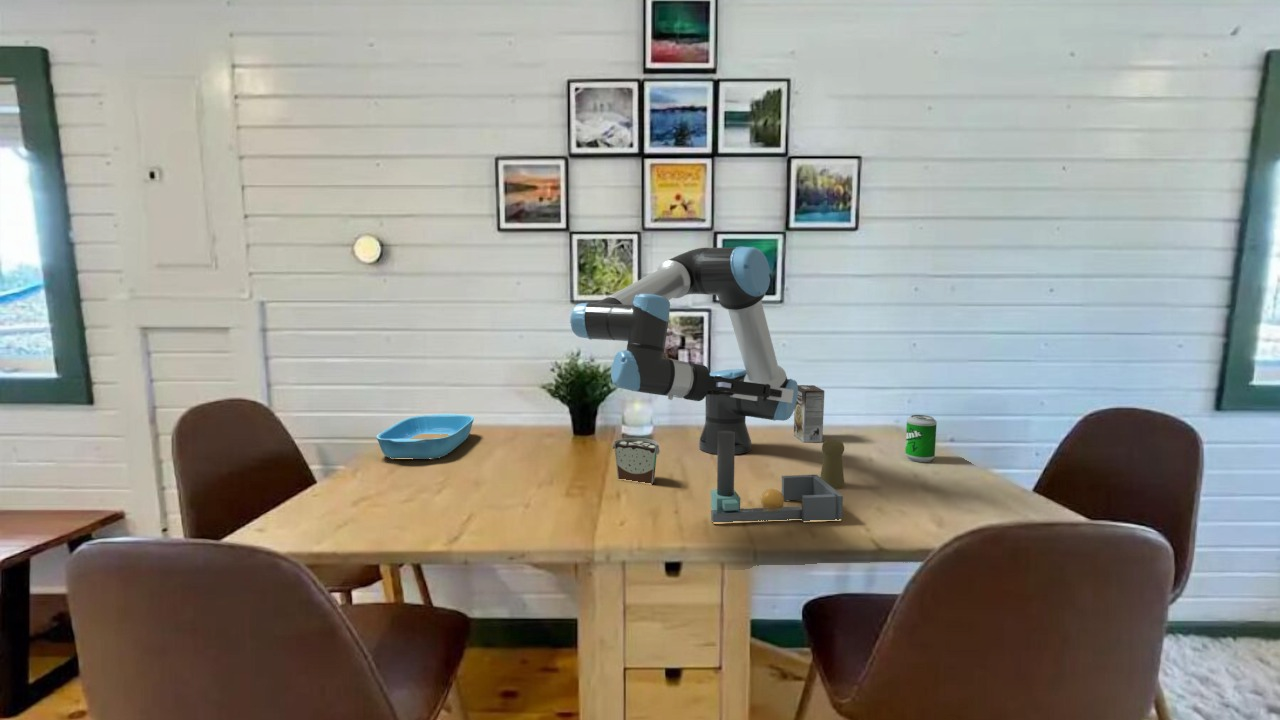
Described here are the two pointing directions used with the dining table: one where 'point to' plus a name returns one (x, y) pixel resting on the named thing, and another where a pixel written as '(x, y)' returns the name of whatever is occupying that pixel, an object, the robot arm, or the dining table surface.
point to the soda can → (920, 438)
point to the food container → (636, 459)
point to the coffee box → (809, 413)
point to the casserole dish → (398, 435)
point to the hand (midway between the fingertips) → (773, 395)
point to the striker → (725, 475)
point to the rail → (757, 514)
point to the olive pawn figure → (833, 463)
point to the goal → (813, 497)
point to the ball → (772, 499)
